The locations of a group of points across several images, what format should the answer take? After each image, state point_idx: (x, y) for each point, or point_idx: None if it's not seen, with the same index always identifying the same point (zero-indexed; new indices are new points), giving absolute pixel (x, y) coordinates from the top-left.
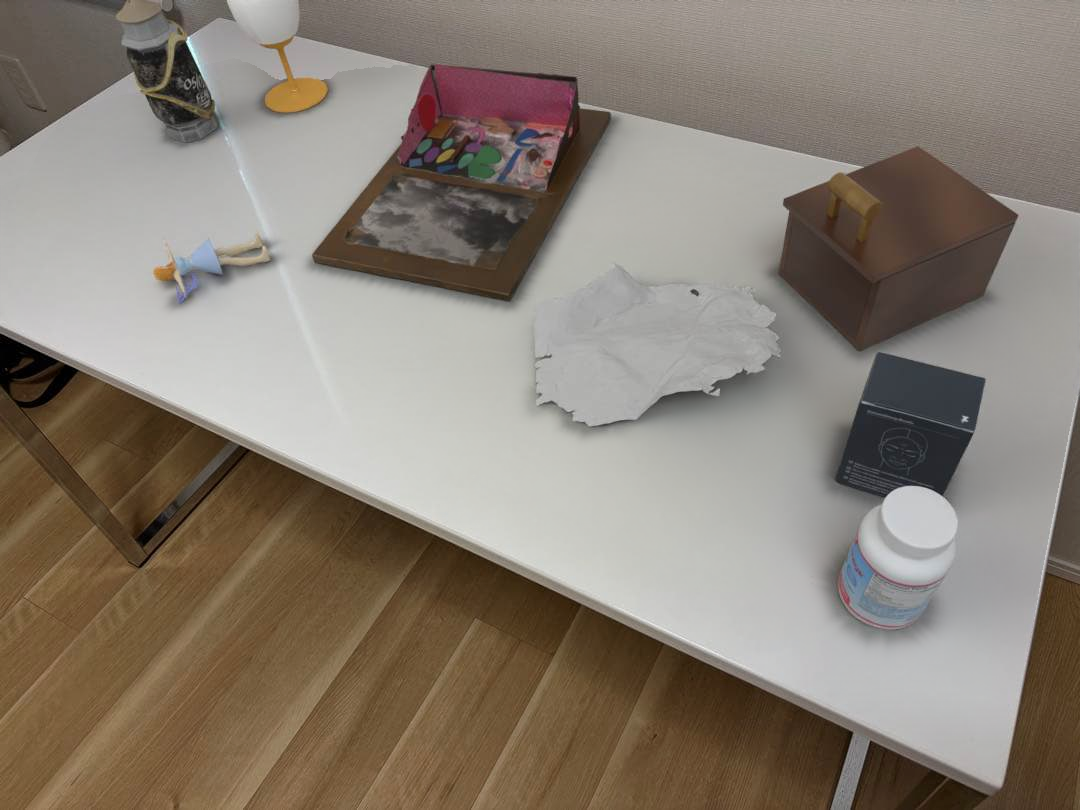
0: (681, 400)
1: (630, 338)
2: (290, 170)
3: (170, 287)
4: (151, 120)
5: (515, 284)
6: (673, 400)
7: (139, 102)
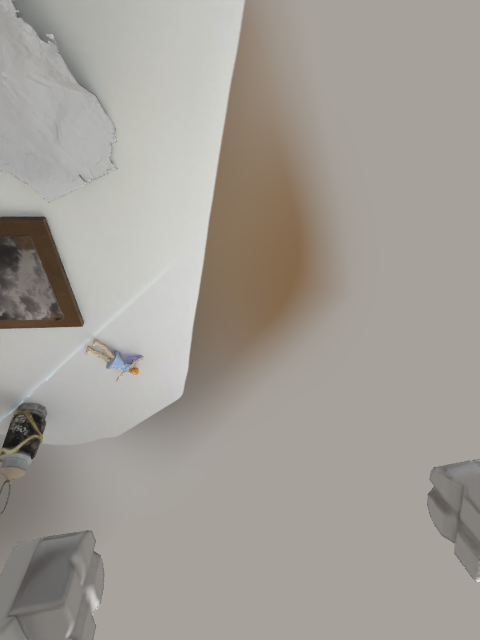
0: None
1: (32, 124)
2: (28, 363)
3: None
4: None
5: (31, 219)
6: None
7: None
